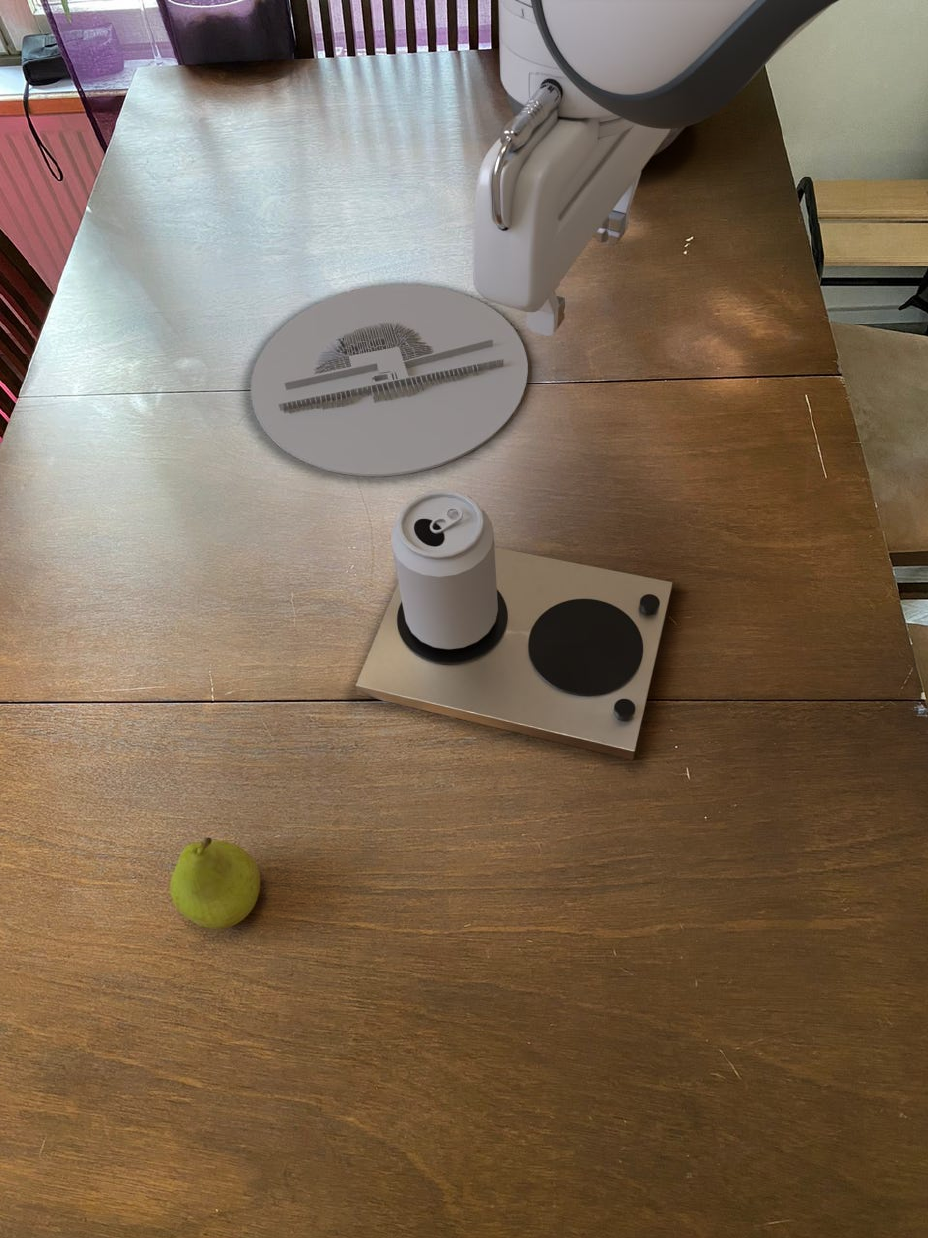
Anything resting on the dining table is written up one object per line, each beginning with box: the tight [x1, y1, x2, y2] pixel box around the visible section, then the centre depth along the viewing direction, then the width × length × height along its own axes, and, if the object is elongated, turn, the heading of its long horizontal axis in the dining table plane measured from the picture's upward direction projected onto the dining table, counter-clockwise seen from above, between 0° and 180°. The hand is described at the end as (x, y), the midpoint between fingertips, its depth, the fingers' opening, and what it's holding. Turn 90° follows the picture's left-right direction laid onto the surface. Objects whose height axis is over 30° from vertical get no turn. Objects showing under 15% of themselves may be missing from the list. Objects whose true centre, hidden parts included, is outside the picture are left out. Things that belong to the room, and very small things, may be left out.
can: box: [390, 489, 498, 649], centre depth 73 cm, size 8×8×12 cm
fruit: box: [169, 837, 261, 930], centre depth 63 cm, size 6×6×12 cm
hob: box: [355, 546, 674, 761], centre depth 78 cm, size 22×16×2 cm
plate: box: [250, 283, 529, 478], centre depth 97 cm, size 28×28×1 cm
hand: (578, 280), depth 59 cm, fingers open, 8 cm apart
